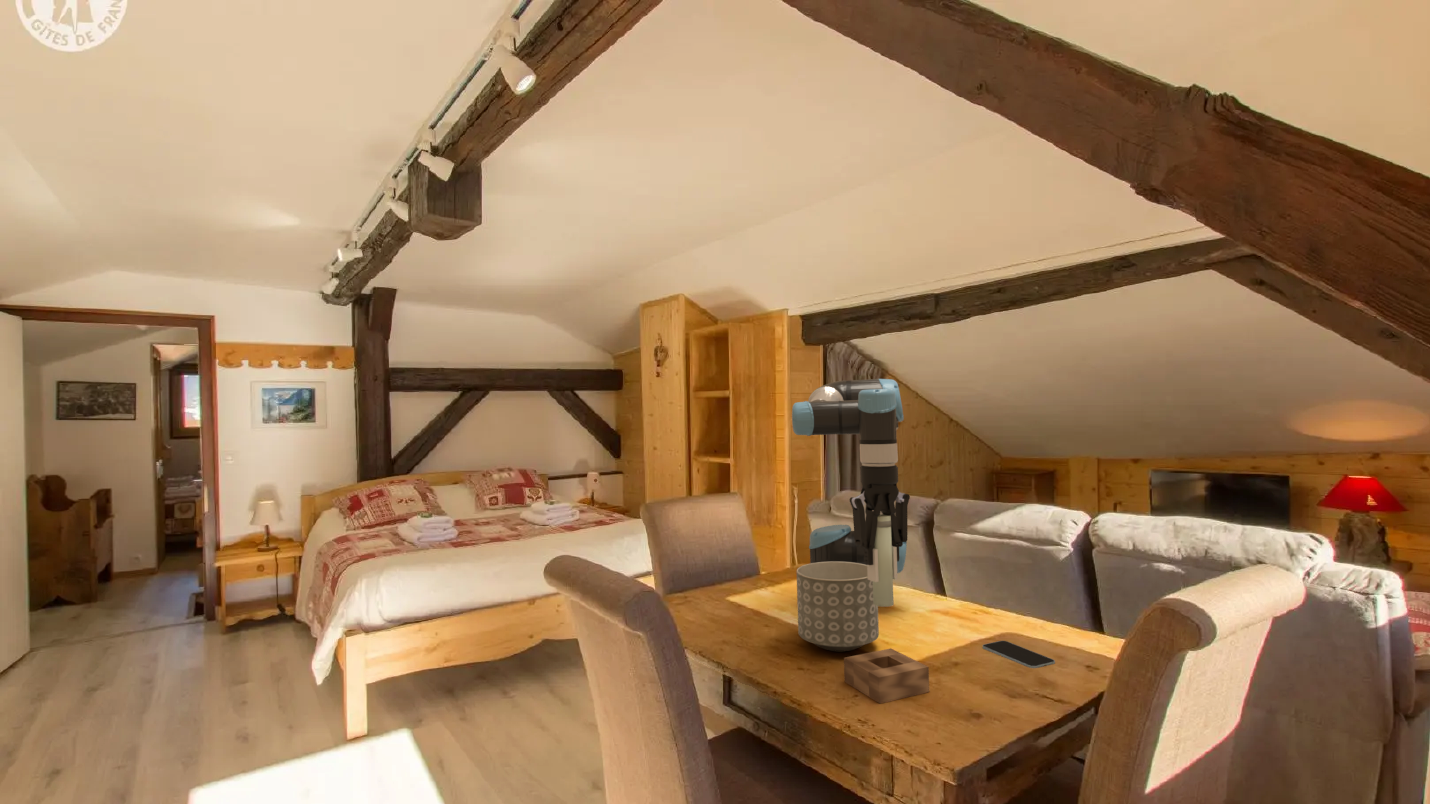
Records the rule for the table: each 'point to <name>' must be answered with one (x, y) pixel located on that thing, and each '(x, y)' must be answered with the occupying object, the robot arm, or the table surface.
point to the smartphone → (1018, 654)
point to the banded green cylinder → (884, 563)
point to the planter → (836, 605)
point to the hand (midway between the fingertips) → (882, 578)
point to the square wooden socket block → (886, 675)
